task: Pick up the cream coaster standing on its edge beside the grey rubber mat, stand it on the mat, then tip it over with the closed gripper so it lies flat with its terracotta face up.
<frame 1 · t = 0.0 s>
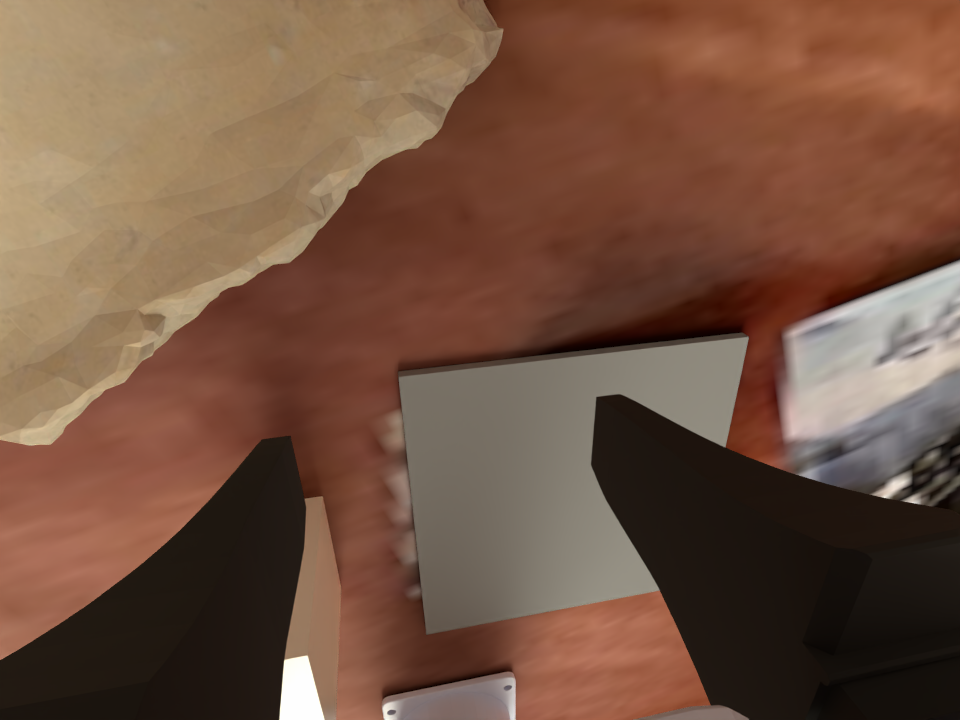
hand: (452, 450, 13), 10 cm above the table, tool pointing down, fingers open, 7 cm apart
mat: (570, 492, 28), on the table
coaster: (311, 547, 26), on the table
small cream pillow: (49, 9, 16), on the table
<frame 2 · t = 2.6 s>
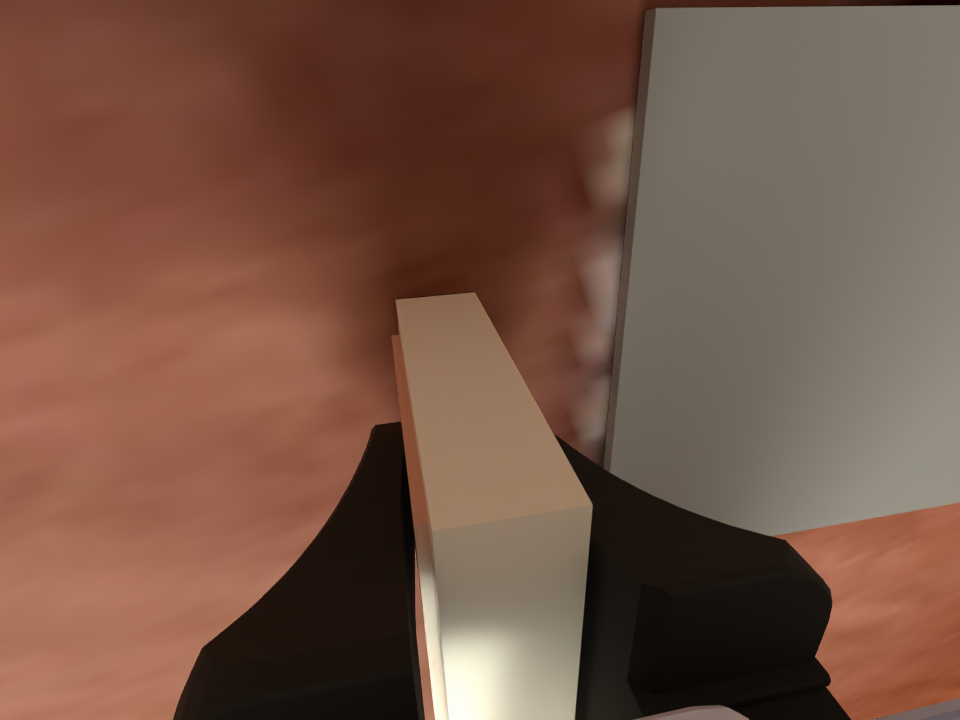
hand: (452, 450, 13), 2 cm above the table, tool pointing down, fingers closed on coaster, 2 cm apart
mat: (862, 319, 17), on the table
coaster: (442, 399, 15), on the table, touching gripper
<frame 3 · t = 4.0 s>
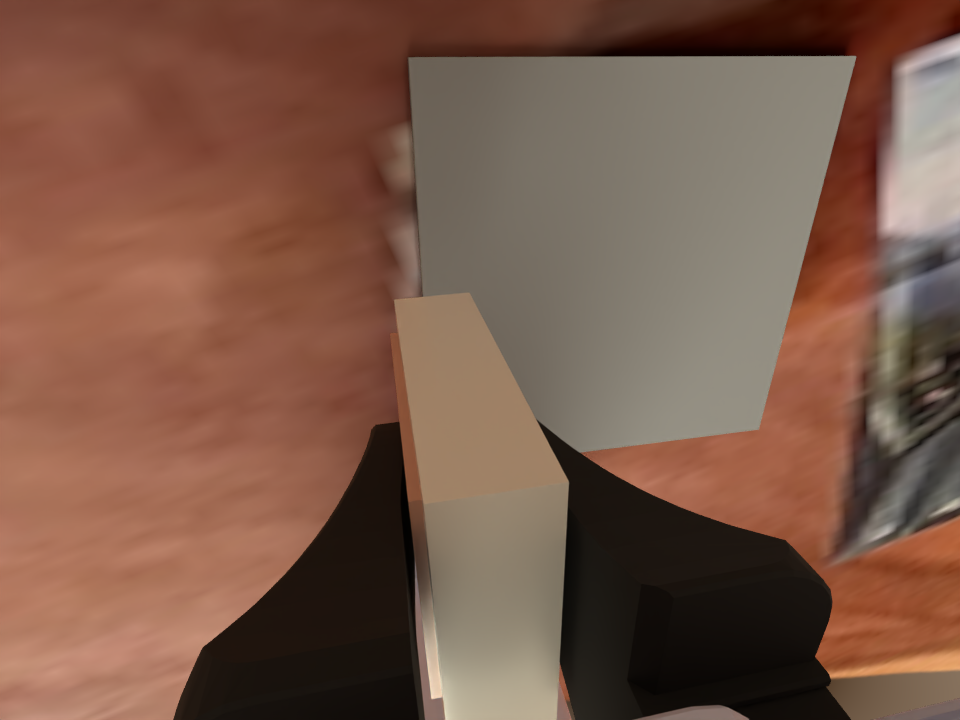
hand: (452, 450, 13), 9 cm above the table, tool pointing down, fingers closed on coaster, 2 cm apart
mat: (618, 281, 22), on the table
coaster: (439, 394, 16), point 6 cm above the table, touching gripper
when the fingers open (4 cm above the table, at t = 5.5 s): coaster stays where it is, resting on mat.
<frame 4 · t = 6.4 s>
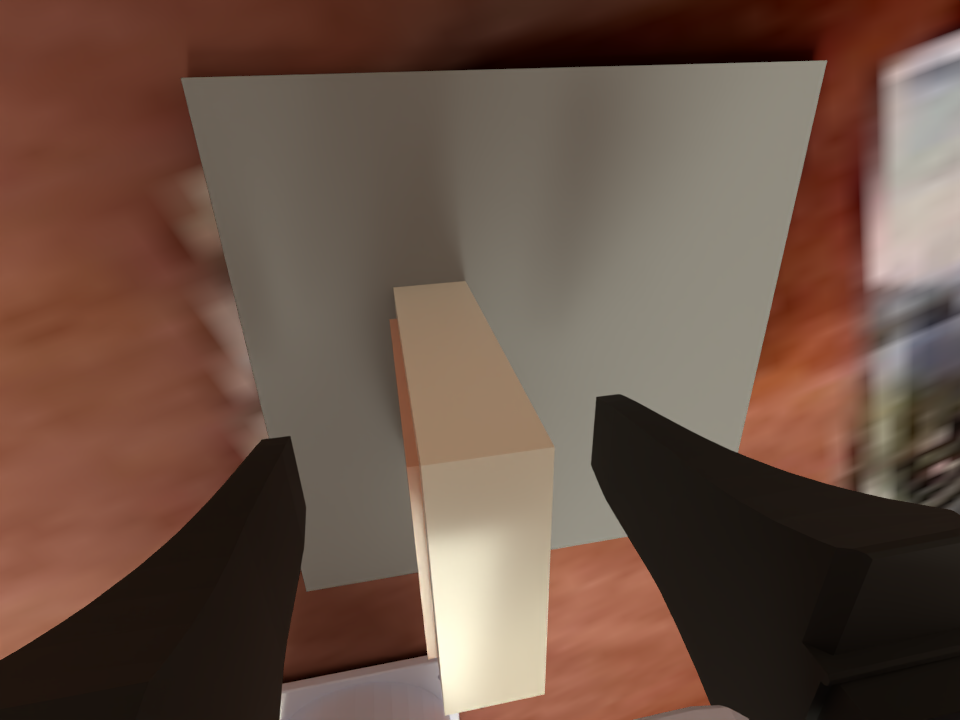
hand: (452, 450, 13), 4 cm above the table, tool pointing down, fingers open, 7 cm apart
mat: (526, 356, 17), on the table
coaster: (436, 379, 16), resting on mat
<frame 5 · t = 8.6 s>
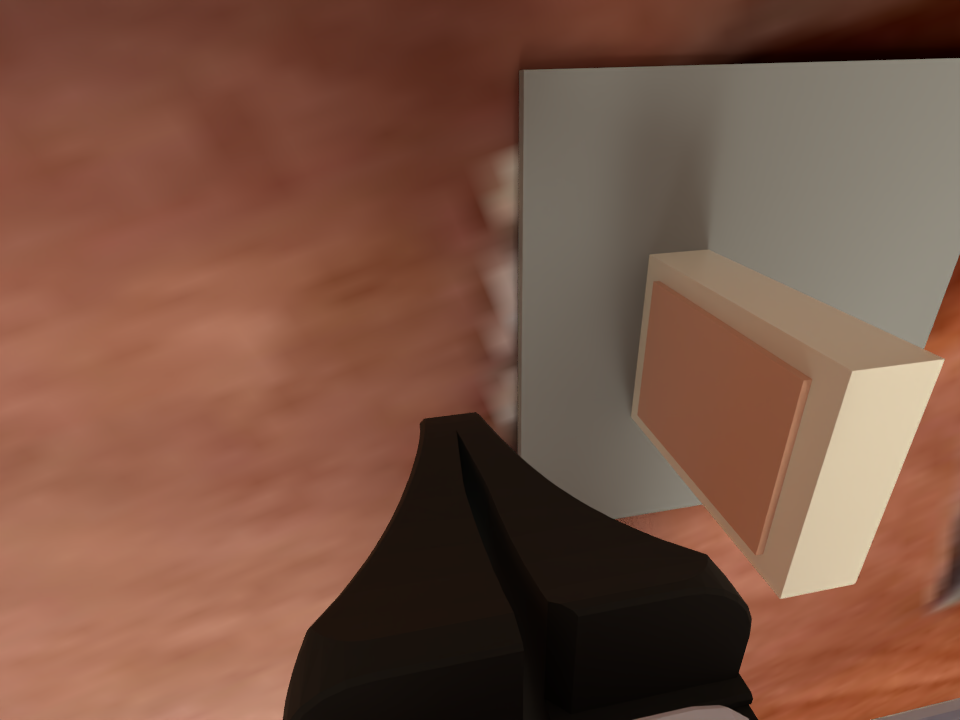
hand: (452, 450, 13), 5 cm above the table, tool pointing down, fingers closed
mat: (736, 319, 19), on the table
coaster: (667, 338, 18), resting on mat
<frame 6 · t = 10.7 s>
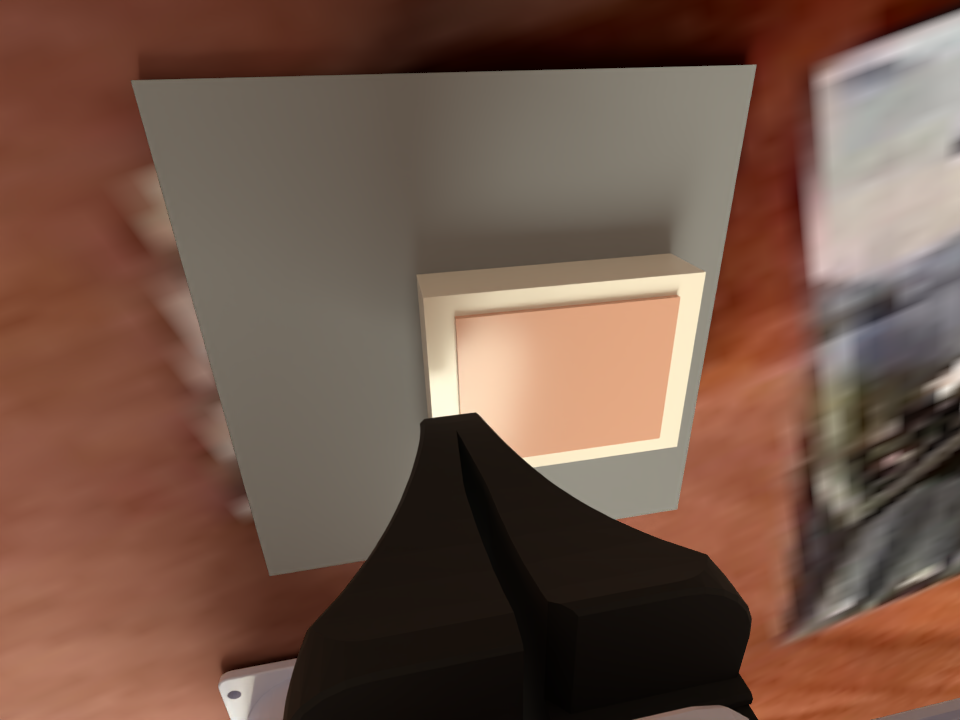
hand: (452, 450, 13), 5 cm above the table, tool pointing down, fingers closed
mat: (477, 348, 18), on the table
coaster: (427, 381, 16), point 1 cm above the table, tilted 90°, touching mat
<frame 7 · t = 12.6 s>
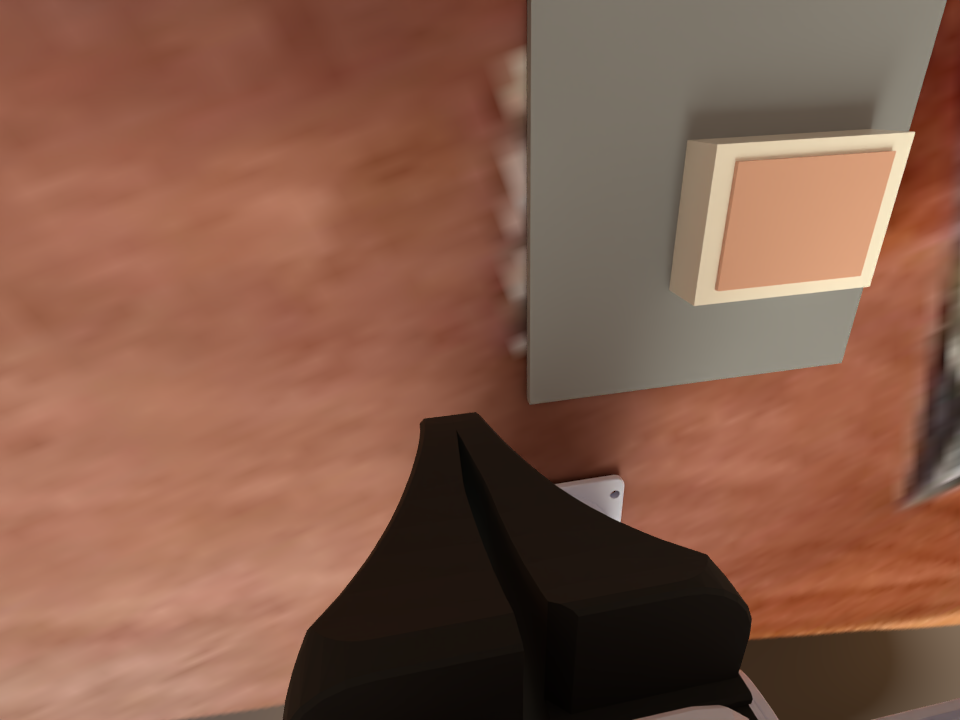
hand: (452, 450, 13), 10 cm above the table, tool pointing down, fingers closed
mat: (712, 209, 23), on the table
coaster: (690, 224, 21), point 1 cm above the table, tilted 90°, touching mat
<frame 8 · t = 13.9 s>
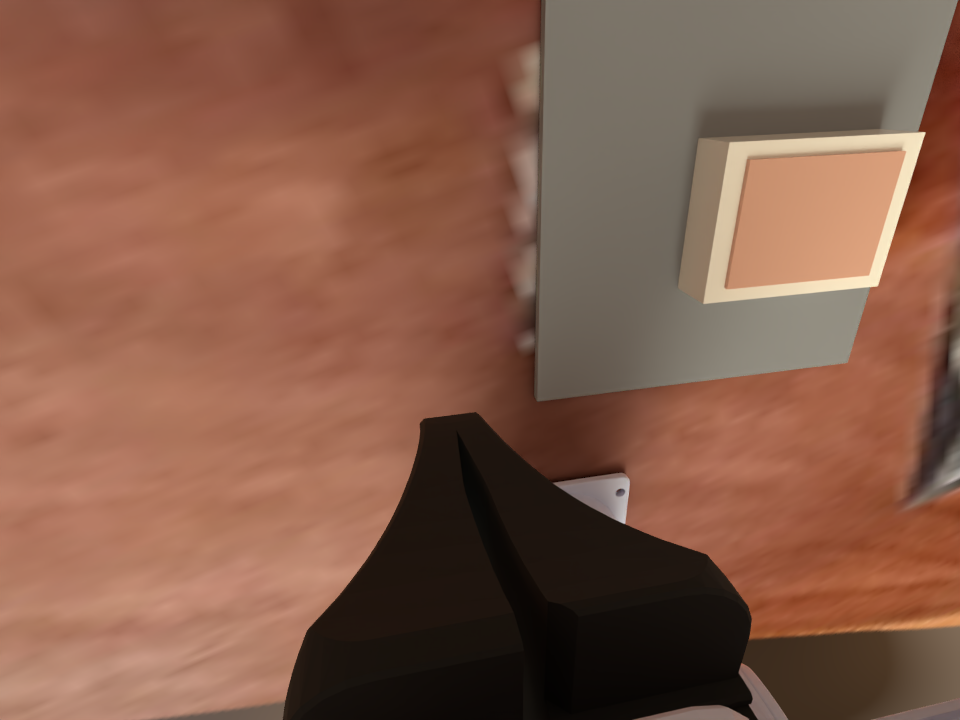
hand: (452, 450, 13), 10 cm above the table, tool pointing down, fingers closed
mat: (722, 207, 23), on the table
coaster: (700, 222, 21), point 1 cm above the table, tilted 90°, touching mat
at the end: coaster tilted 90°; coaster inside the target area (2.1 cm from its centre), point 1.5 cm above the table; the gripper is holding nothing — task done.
